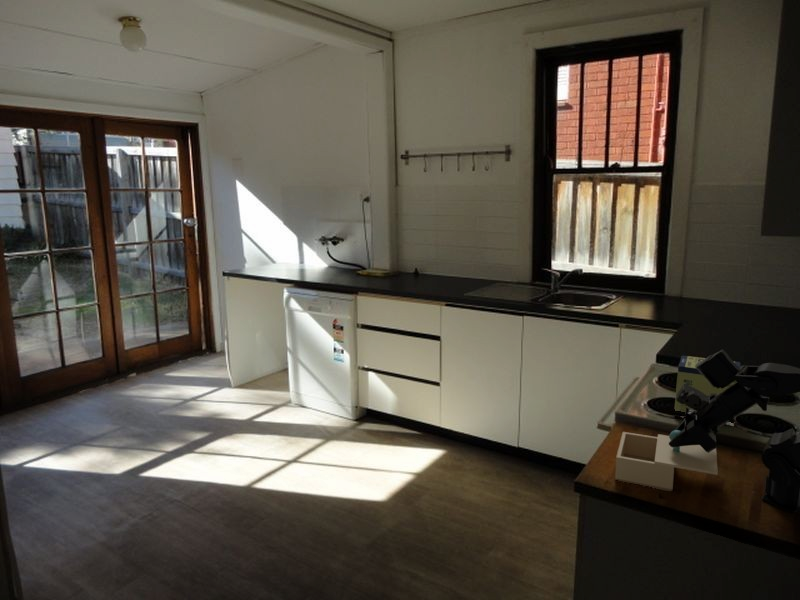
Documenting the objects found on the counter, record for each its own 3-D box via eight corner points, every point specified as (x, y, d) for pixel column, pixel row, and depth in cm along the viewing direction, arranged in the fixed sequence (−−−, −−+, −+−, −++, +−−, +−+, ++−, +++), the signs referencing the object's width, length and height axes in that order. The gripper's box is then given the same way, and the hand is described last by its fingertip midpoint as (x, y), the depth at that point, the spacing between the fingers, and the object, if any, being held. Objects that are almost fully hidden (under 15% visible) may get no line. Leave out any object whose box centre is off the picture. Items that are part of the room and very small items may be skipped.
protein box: (736, 427, 159) (741, 373, 155) (673, 417, 166) (677, 365, 163) (735, 413, 168) (741, 361, 164) (676, 404, 175) (680, 354, 172)
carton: (674, 462, 142) (675, 440, 140) (672, 491, 130) (674, 467, 128) (621, 453, 147) (622, 431, 146) (615, 480, 135) (616, 457, 133)
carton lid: (715, 445, 137) (717, 423, 136) (717, 474, 124) (719, 451, 123) (657, 436, 142) (659, 415, 141) (654, 463, 130) (655, 441, 128)
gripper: (701, 362, 136) (647, 400, 144) (702, 391, 120) (641, 431, 127) (737, 399, 135) (680, 435, 142) (743, 432, 118) (679, 471, 126)
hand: (670, 441), depth 134 cm, fingers closed on carton lid, 3 cm apart
